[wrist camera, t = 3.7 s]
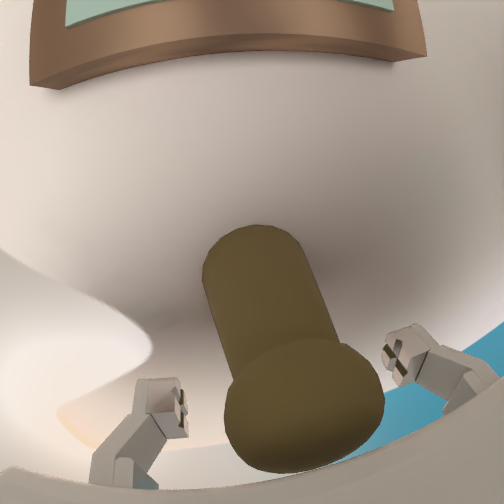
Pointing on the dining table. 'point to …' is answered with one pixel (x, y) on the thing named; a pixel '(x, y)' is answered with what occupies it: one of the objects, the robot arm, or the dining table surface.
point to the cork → (285, 357)
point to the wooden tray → (210, 32)
